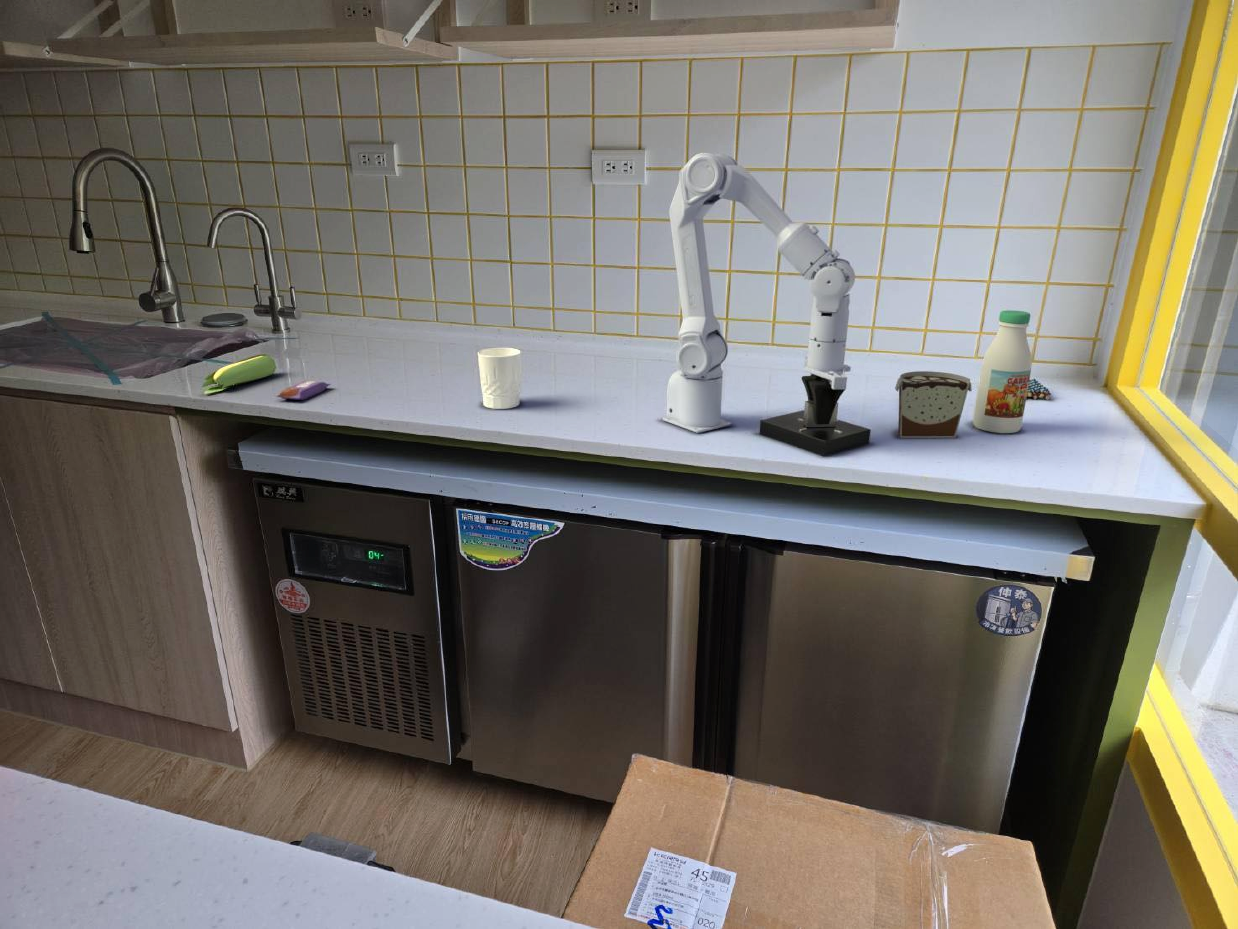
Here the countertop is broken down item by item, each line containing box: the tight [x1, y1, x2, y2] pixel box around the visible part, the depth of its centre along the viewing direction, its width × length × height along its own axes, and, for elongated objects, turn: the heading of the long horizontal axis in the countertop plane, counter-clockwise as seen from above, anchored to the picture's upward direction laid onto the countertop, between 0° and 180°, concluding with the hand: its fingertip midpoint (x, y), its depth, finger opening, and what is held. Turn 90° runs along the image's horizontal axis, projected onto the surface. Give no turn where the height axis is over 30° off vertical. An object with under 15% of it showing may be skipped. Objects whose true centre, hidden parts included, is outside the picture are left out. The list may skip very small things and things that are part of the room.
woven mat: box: [1026, 378, 1052, 400], centre depth 164 cm, size 10×11×2 cm
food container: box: [894, 370, 973, 439], centre depth 138 cm, size 12×6×10 cm, turn 92°
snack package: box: [275, 380, 332, 401], centre depth 159 cm, size 12×2×5 cm
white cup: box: [477, 347, 522, 410], centre depth 152 cm, size 8×8×10 cm
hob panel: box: [759, 409, 872, 457], centre depth 135 cm, size 14×11×3 cm
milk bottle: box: [972, 309, 1033, 434], centre depth 139 cm, size 8×8×20 cm
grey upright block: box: [803, 400, 839, 427], centre depth 133 cm, size 5×2×4 cm, turn 95°
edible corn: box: [201, 353, 277, 395], centre depth 166 cm, size 5×20×5 cm, turn 163°
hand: (819, 421), depth 133 cm, fingers closed on grey upright block, 2 cm apart
